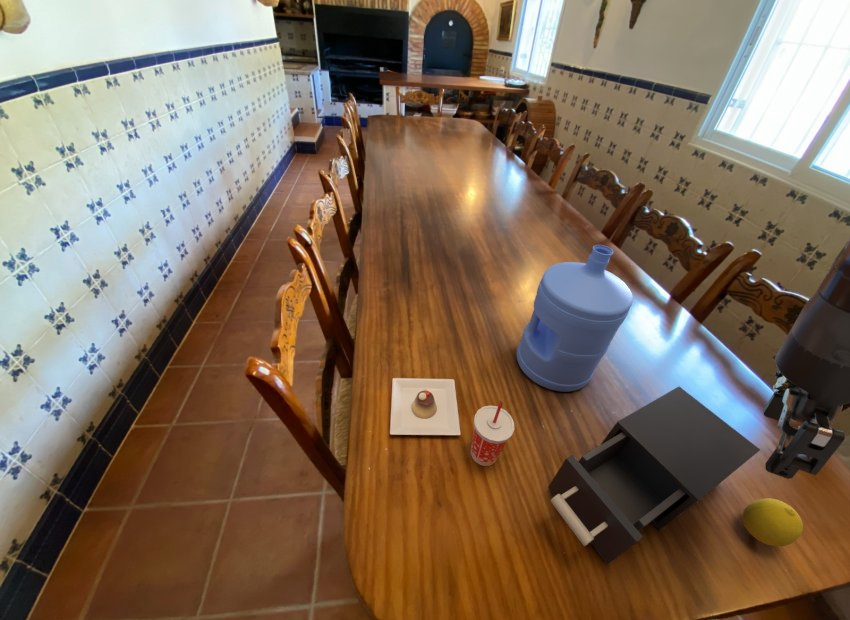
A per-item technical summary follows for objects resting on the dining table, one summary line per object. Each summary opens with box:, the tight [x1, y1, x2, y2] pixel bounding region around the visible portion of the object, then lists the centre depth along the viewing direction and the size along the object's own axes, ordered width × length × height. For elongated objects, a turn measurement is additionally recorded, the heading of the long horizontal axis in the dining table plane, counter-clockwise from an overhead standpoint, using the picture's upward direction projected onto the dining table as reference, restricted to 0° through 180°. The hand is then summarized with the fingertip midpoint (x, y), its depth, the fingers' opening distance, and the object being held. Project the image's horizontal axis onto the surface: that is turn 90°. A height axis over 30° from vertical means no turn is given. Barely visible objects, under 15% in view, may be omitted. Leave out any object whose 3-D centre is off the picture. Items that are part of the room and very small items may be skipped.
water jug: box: [516, 244, 634, 393], centre depth 67 cm, size 16×16×28 cm
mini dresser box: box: [547, 432, 686, 566], centre depth 51 cm, size 19×11×9 cm, turn 118°
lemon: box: [742, 497, 804, 547], centre depth 50 cm, size 6×6×8 cm
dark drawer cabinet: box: [600, 386, 761, 532], centre depth 56 cm, size 16×13×11 cm
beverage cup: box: [470, 401, 515, 467], centre depth 55 cm, size 6×6×14 cm
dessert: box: [389, 377, 462, 436], centre depth 64 cm, size 12×12×5 cm
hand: (775, 442), depth 42 cm, fingers open, 8 cm apart
